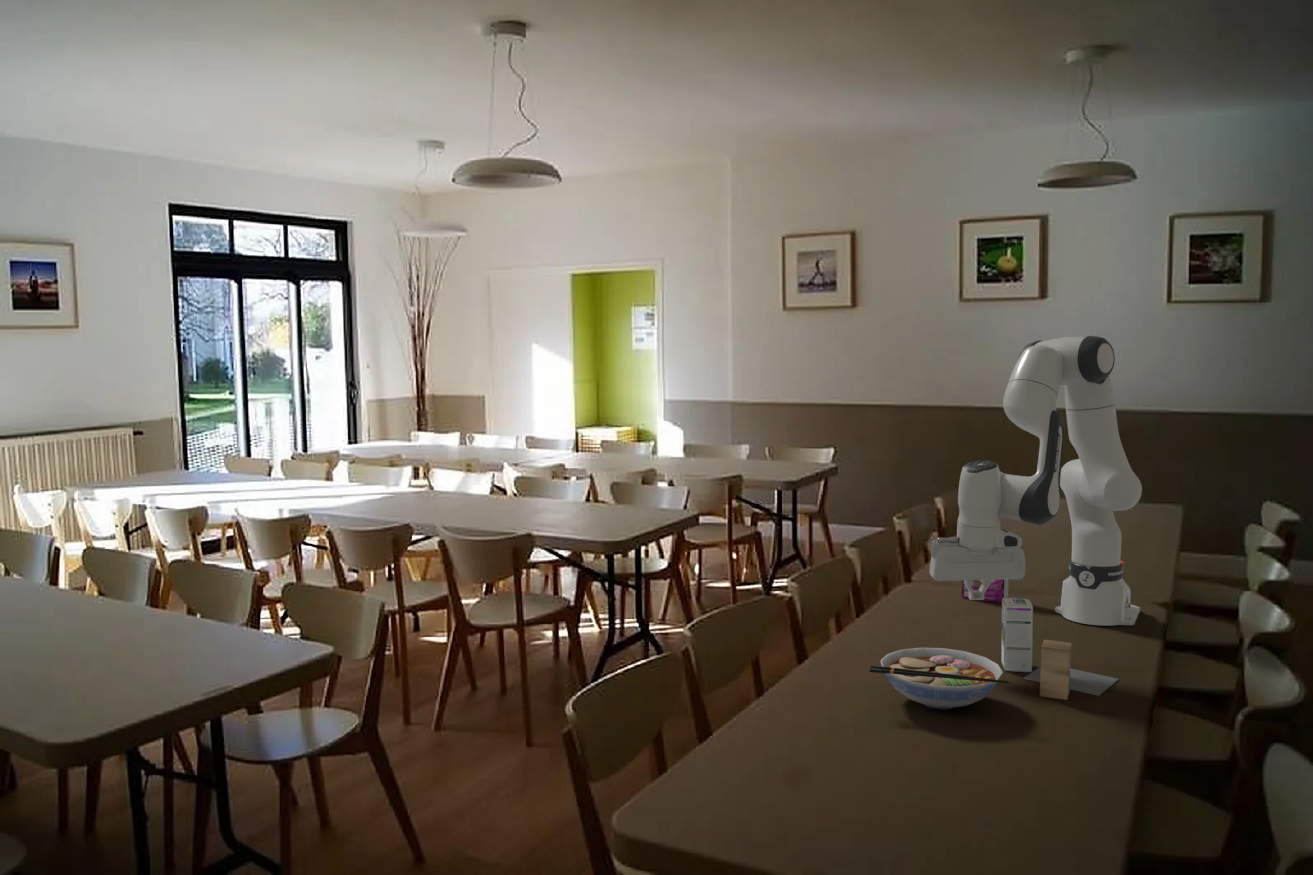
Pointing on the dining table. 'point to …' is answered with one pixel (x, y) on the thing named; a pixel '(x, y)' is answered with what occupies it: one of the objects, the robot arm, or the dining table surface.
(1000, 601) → the candy bar box
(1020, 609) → the syrup box
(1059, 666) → the oak block
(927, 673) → the ramen bowl
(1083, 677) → the rubber mat
